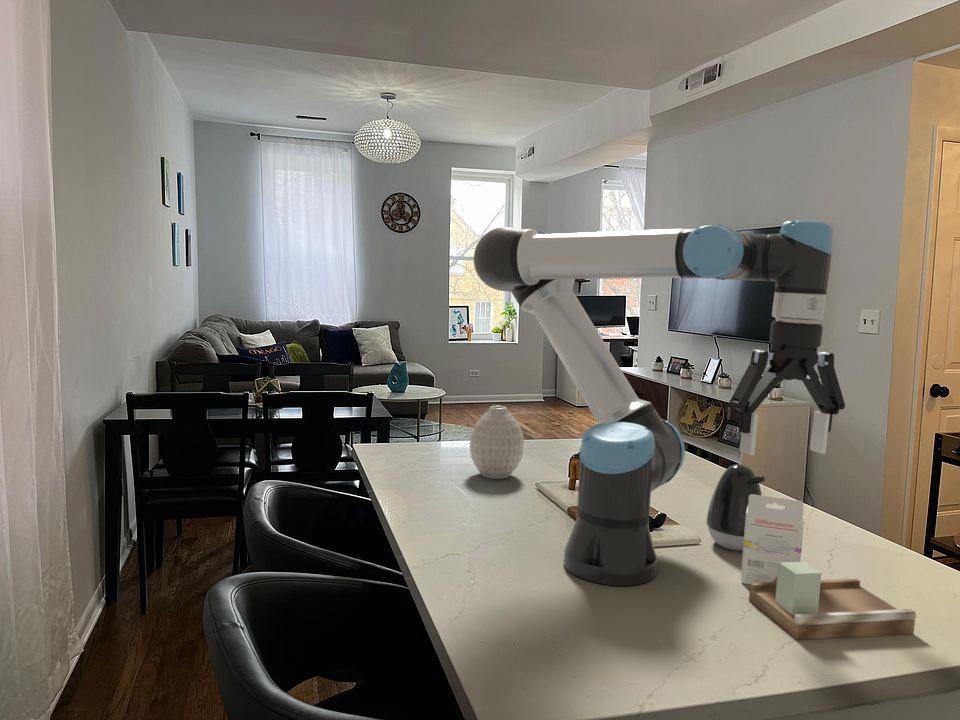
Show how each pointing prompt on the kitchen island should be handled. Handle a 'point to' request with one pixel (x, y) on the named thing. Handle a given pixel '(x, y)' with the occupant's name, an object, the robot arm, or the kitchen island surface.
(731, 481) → the pump dispenser
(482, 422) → the vase
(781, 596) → the pale green block
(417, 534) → the kitchen island surface
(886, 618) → the brown wooden tray
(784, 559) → the ink cartridge box
